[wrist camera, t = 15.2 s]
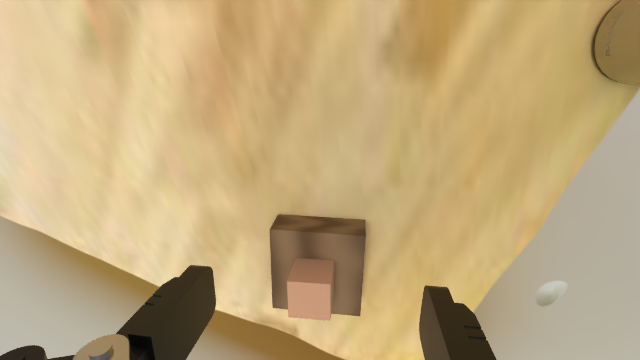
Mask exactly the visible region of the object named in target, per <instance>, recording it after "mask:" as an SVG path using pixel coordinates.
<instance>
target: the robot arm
mask: <svg viewBox="0 0 640 360" xmlns="http://www.w3.org/2000/svg"><path fill="white" fill-rule="evenodd" d="M595 57H596V60H597V64H598V66H599V67H600V69H601V70H602V72H603V73H604V74H606V75H607V76H608V77H609V78H611V79H613V80H615V81H617V82H621V83H626V84H640V0H621V1H620V2H619V3H618V4H617V5H616V6H614V7H613V8H612V10H611V11H610V12H609V13H608V14H607V16H606V17H605V19H604V20H603V22H602V24H601V25H600V27H599V30H598V33H597V36H596V41H595ZM215 305H216V297H215V287H214V278H213V270H212V268H211V267H208V266H196V265H190V266H189V267H188V268H187V269H186V270H185V271H184V272H183V273H182V275H181V276H180V277H175V278H173V279H171V280H170V281H168V282H166V283H165V284H163V285H162V286H161V287H160V288H159V289H158V290H157V291H156V292H155V293H154V294H153V296H152V297H150V298H149V299H148V300H147V301H146V302H145V305H143V306H142V307H141V308H140V309H139V310H138V311H137V312H136V313H135V314H134V315H133V316H132V317H131V318H130V320H128V321H127V322H126V323H125V325H124V326H123V327H122V328H121V329H120V330H119V331H118V332H117V333H116V334H111V335H107V336H103V337H100V338H97V339H96V340H93V341H91V342H90V343H88V344H87V345H85V346H84V347H83V348H81V349H80V350H79V351H78V352H77V353H76V355H71V356H65V357H58V358H52V359H47V357H46V353H45V351H44V349H43V348H42V347H40V346H35V345H34V346H33V345H32V346H25V347H20V348H17V349H15V350H12V351H9V352H7V353H5V354H3V355H1V356H0V360H186V358H187V357H188V355H189V353H190V352H191V350H192V349H193V347H194V345H195V344H196V342H197V340H198V339H199V337H200V335H201V334H202V332H203V331H204V329H205V327H206V326H207V324H208V322H209V321H210V319H211V318H212V316H213V313H214V310H215ZM419 331H420V340H421V344H422V349H423V353H424V357H425V360H496V358H495V356H494V354H493V352H492V350H491V347H490V345H489V343H488V341H486V337H485V335H484V333H483V331H482V330H481V326H480V324H479V322H478V320H477V318H476V316H475V314H474V313H473V312H472V311H471V310H470V309H469V308H468V307H467V306H466V305H465V304H461V303H454V301H453V299H452V296H451V294H450V291H449V289H448V288H447V287H437V286H425V287H424V292H423V299H422V307H421V314H420V323H419Z"/></svg>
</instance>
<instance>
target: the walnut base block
mask: <svg viewBox="0 0 640 360" xmlns="http://www.w3.org/2000/svg"><path fill="white" fill-rule="evenodd" d="M270 249H271V275H272V302H273V308H280V309H288V294H287V280H288V277H289V274H290V271H291V269H292V266H293V263H294V260H295V258H306V259H323V260H334V296H333V303H332V311H331V313H332V314H342V315H352V316H360V311H361V296H362V281H363V266H364V250H365V220H356V219H341V218H325V217H310V216H294V215H278V216H277V218H276V220H275V221H274V223H273V225H272V226H271V228H270Z"/></svg>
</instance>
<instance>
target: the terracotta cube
mask: <svg viewBox="0 0 640 360" xmlns="http://www.w3.org/2000/svg"><path fill="white" fill-rule="evenodd" d="M287 294H288V316H289V317H293V318H305V319H317V320H329V321H330V319H331V311H332V303H333V296H334V260H323V259H306V258H295V260H294V263H293V266H292V269H291V271H290V274H289V277H288V280H287Z"/></svg>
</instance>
